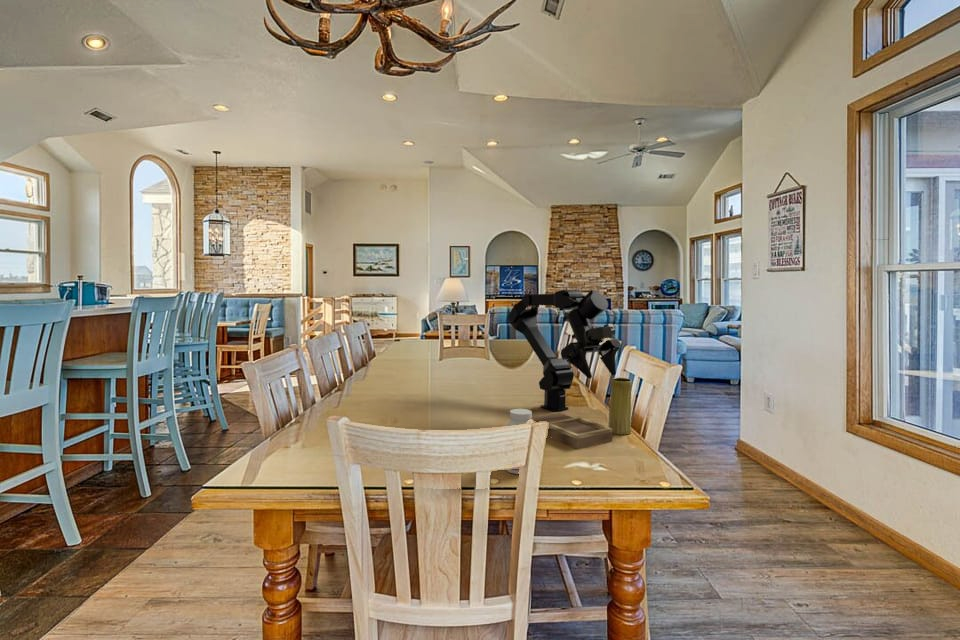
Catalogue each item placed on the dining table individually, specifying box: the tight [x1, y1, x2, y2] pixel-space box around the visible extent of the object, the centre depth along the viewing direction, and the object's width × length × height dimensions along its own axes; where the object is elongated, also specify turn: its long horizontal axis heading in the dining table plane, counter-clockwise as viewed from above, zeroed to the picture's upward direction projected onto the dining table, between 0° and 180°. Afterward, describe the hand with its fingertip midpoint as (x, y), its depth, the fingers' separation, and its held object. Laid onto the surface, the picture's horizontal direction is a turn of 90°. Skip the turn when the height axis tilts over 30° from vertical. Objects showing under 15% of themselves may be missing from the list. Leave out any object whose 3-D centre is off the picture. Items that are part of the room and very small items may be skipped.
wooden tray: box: [531, 412, 613, 450], centre depth 138 cm, size 20×12×3 cm, turn 32°
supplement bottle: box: [505, 408, 533, 475], centre depth 112 cm, size 7×7×13 cm
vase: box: [607, 377, 633, 436], centre depth 141 cm, size 6×6×14 cm
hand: (602, 376), depth 146 cm, fingers open, 9 cm apart
